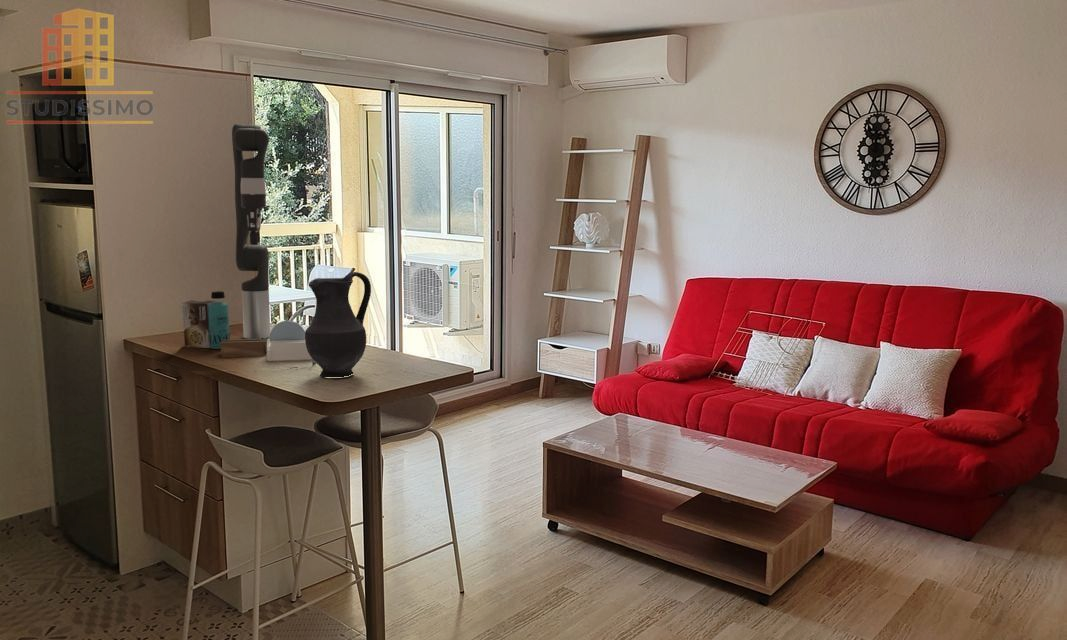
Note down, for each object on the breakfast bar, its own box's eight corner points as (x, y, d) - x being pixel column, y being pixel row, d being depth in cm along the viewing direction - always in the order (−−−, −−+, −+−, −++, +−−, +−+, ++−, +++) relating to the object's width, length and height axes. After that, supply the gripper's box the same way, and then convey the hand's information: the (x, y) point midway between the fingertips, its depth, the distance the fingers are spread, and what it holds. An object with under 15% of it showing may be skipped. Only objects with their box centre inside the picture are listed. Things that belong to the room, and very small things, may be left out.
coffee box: (219, 347, 282) (217, 300, 280) (209, 351, 276) (207, 303, 273) (193, 346, 283) (191, 299, 281) (183, 350, 277) (181, 302, 274)
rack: (270, 356, 270) (269, 336, 269) (316, 354, 274) (316, 335, 273) (267, 364, 258) (266, 343, 257) (316, 362, 261) (315, 342, 260)
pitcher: (295, 375, 244) (292, 273, 240) (354, 364, 260) (352, 268, 255) (328, 385, 233) (326, 278, 228) (388, 373, 248) (387, 273, 243)
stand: (223, 356, 268) (222, 339, 267) (267, 355, 271) (267, 338, 271) (221, 360, 262) (220, 342, 262) (266, 358, 266) (265, 341, 265)
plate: (266, 350, 264) (274, 317, 263) (301, 357, 267) (309, 324, 266) (266, 351, 263) (273, 317, 262) (301, 358, 266) (309, 325, 264)
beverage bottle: (205, 351, 275) (202, 291, 272) (221, 348, 281) (218, 289, 277) (219, 354, 272) (216, 293, 269) (235, 350, 278) (232, 291, 274)
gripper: (243, 192, 271) (245, 242, 274) (238, 192, 257) (240, 245, 260) (267, 192, 273) (268, 242, 275) (263, 193, 259) (265, 245, 262)
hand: (255, 243), depth 268 cm, fingers open, 8 cm apart
